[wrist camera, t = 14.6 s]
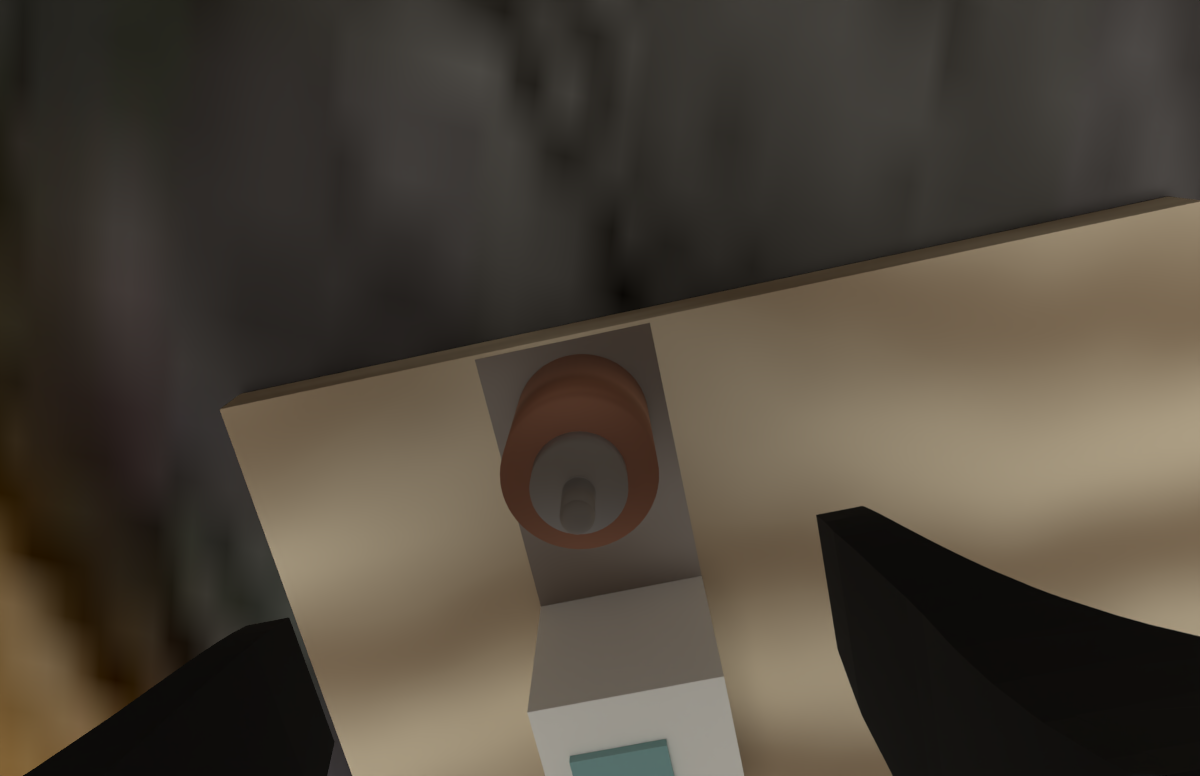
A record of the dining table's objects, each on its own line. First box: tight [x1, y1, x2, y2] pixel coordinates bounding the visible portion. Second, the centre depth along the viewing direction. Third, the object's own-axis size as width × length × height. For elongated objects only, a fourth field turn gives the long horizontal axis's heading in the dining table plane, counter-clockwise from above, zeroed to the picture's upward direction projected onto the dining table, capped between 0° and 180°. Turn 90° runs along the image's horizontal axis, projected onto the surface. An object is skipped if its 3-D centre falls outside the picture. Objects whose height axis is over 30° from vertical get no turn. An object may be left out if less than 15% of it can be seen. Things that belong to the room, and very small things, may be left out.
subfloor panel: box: [220, 197, 1200, 776], centre depth 22 cm, size 14×22×1 cm, turn 102°
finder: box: [527, 576, 744, 776], centre depth 20 cm, size 6×4×4 cm, turn 12°
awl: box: [500, 354, 659, 549], centre depth 17 cm, size 3×3×6 cm
